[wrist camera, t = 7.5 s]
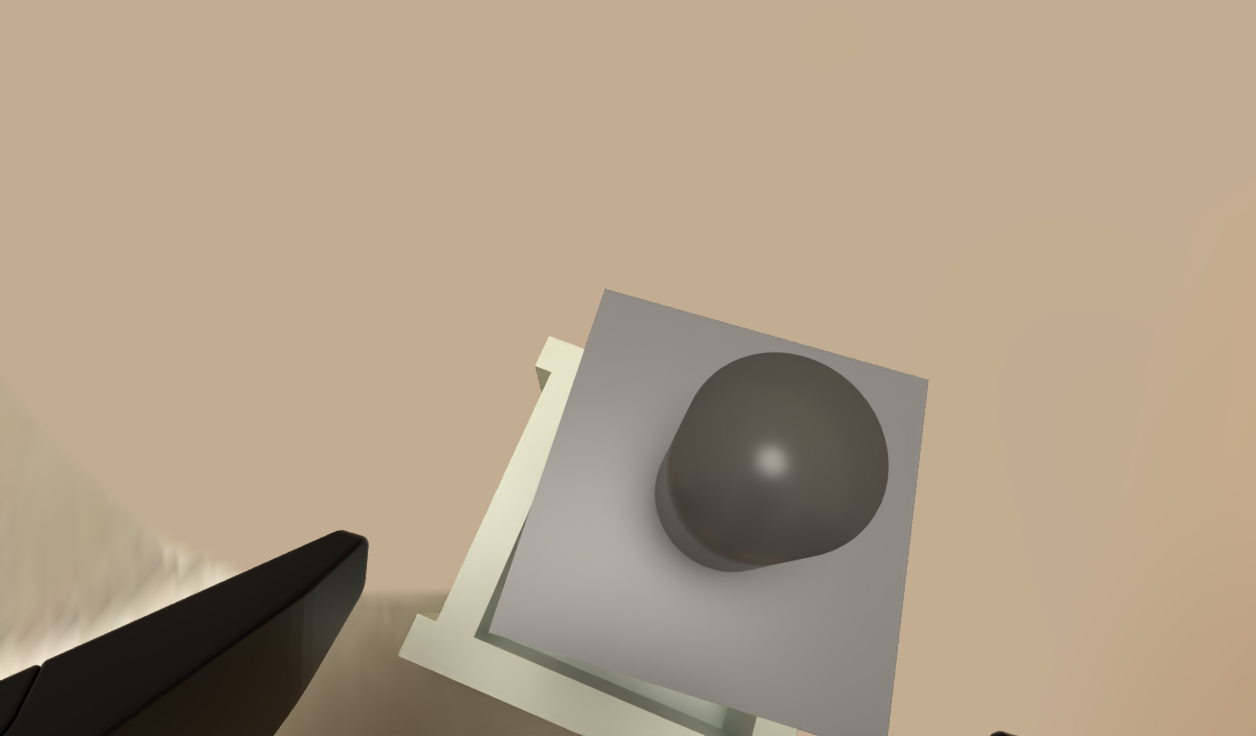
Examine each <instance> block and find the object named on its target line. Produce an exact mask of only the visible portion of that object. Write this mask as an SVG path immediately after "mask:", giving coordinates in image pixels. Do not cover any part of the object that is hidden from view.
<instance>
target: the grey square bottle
mask: <svg viewBox="0 0 1256 736" xmlns="http://www.w3.org/2000/svg"><path fill="white" fill-rule="evenodd" d="M927 389H928V380H927V379H924V378H920V377H916V376H913V375H909V374H906V373H902V372H899V371H895V370H891V369H888V368H884V367H881V366H878V365H874V364H870V363H867V362H863V361H860V360H856V359H853V358H849V357H846V356H842V355H838V354H835V353H831V352H828V351H824V350H821V349H817V348H814V347H810V346H806V345H803V344H799V343H796V342H792V341H789V340H785V339H782V338H778V337H774V336H771V335H767V334H764V333H760V332H757V331H753V330H750V329H746V328H742V327H739V326H735V325H731V324H728V323H725V322H721V321H718V320H714V319H710V318H707V317H703V316H700V315H696V314H693V313H689V312H685V311H682V310H679V309H675V308H671V307H668V306H664V305H661V304H657V303H653V302H650V301H647V300H643V299H639V298H636V297H632V296H629V295H625V294H622V293H618V292H614V291H611V290H607V289H605V291H604V294H603V296H602V299H601V302H600V305H599V308H598V311H597V314H596V317H595V320H594V323H593V326H592V329H591V332H590V335H589V337H588V340H587V343H586V346H585V349H584V352H583V355H582V358H581V361H580V364H579V367H578V370H577V373H576V376H575V379H574V382H573V385H572V387H571V390H570V393H569V396H568V399H567V402H566V405H565V408H564V411H563V414H562V417H561V420H560V423H559V426H558V429H557V432H556V435H555V437H554V440H553V443H552V446H551V449H550V452H549V455H548V458H547V461H546V464H545V467H544V470H543V473H542V476H541V479H540V482H539V485H538V487H537V490H536V493H535V496H534V499H533V502H532V505H531V508H530V511H529V514H528V517H527V520H526V523H525V526H524V529H523V532H522V535H521V537H520V540H519V543H518V546H517V549H516V552H515V555H514V558H513V561H512V564H511V567H510V570H509V573H508V576H507V579H506V582H505V585H504V587H503V590H502V593H501V596H500V599H499V602H498V605H497V608H496V611H495V614H494V617H493V620H492V623H491V626H490V629H489V633H492V634H495V635H498V636H502V637H505V638H508V639H511V640H514V641H518V642H521V643H524V644H527V645H530V646H534V647H537V648H540V649H543V650H546V651H550V652H553V653H556V654H559V655H562V656H565V657H569V658H572V659H575V660H578V661H581V662H585V663H588V664H591V665H594V666H597V667H601V668H604V669H607V670H610V671H613V672H617V673H620V674H623V675H626V676H629V677H633V678H636V679H639V680H642V681H645V682H648V683H652V684H655V685H658V686H661V687H664V688H668V689H671V690H674V691H677V692H680V693H684V694H687V695H690V696H693V697H696V698H700V699H703V700H706V701H709V702H712V703H716V704H719V705H722V706H725V707H728V708H732V709H735V710H738V711H741V712H744V713H747V714H751V715H754V716H757V717H760V718H763V719H767V720H770V721H773V722H776V723H779V724H783V725H786V726H789V727H792V728H795V729H799V730H802V731H805V732H808V733H811V734H815V735H818V736H888V729H889V721H890V720H889V719H890V711H891V703H892V694H893V686H894V677H895V668H896V660H897V651H898V642H899V633H900V624H901V616H902V607H903V599H904V590H905V581H906V572H907V563H908V555H909V546H910V537H911V529H912V520H913V511H914V503H915V494H916V485H917V476H918V468H919V458H920V450H921V441H922V433H923V424H924V415H925V406H926V397H927Z"/></svg>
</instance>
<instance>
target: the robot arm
mask: <svg viewBox="0 0 1256 736" xmlns="http://www.w3.org/2000/svg"><path fill="white" fill-rule="evenodd" d="M368 548H369V546H368V540H367V539H366V538H365V537H364V536H361V535H358V534H354V533H351V532H347V531H344V530H339V531H336V532H333V533H330V534H328V535H326V536H324V537H321V538H319V539H317V540H315V541H313V542H310V543H308V544H306V545H304V546H302V547H299V548H297V549H295V550H292V551H290V552H288V553H286V554H283V555H281V556H279V557H277V558H274V559H272V560H270V561H268V562H265V563H263V564H261V565H259V566H256V567H254V568H252V569H250V570H248V571H245V572H243V573H241V574H239V575H236V576H234V577H232V578H230V579H227V580H225V581H223V582H221V583H218V584H216V585H214V586H212V587H209V588H207V589H205V590H203V591H200V592H198V593H196V594H194V595H191V596H189V597H187V598H185V599H183V600H180V601H178V602H176V603H174V604H171V605H169V606H167V607H165V608H162V609H160V610H158V611H156V612H153V613H151V614H149V615H147V616H144V617H142V618H140V619H138V620H135V621H133V622H131V623H129V624H126V625H124V626H122V627H120V628H118V629H115V630H113V631H111V632H109V633H106V634H104V635H102V636H100V637H97V638H95V639H93V640H91V641H88V642H86V643H84V644H82V645H79V646H77V647H75V648H73V649H70V650H68V651H66V652H64V653H61V654H59V655H57V656H55V657H53V658H50V659H48V660H46V661H45V662H44V663H43V664H42V666H41V667H40V666H39V665H34V666H32V667H30V668H27V669H25V670H23V671H21V672H18V673H16V674H14V675H12V676H9V677H7V678H5V679H3V680H0V736H274V734H275V733H276V732H277V730H278V729H279V728H280V726H281V725H282V723H283V722H284V721H285V719H286V718H287V717H288V715H289V714H290V712H291V711H292V709H293V708H294V707H295V705H296V704H297V702H298V701H299V699H300V698H301V696H302V695H303V693H304V691H305V690H306V688H307V686H308V685H309V683H310V681H311V680H312V678H313V676H314V675H315V673H316V671H317V670H318V668H319V666H320V664H321V663H322V661H323V659H324V658H325V656H326V654H327V652H328V651H329V649H330V647H331V646H332V644H333V642H334V640H335V639H336V637H337V635H338V634H339V632H340V630H341V628H342V627H343V625H344V623H345V622H346V620H347V618H348V616H349V615H350V613H351V611H352V610H353V608H354V606H355V605H356V603H357V601H358V599H359V598H360V596H361V593H362V591H363V588H364V585H365V580H366V570H367V559H368ZM990 736H1016V735H1012V734H1009V733H1006V732H1003V731H997V732H995V733H993V734H991V735H990Z"/></svg>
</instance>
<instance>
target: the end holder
mask: <svg viewBox="0 0 1256 736" xmlns="http://www.w3.org/2000/svg"><path fill="white" fill-rule="evenodd" d="M583 352H584V349H582V348H580V347H577V346H575V345H572V344H569V343H566V342H564V341H561V340H559V339H556V338H553V337H551V336H549V338H548V340H547V342H546V344H545V346H544V348H543V351H542V353H541V355H540V357H539V359H538V361H537V363H536V365H535V367H536V371H537V375H538V379H539V384H540V388H541V392H542V394H541V396H540V398H539V400H538V402H537V404H536V407H535V409H534V411H533V413H532V415H531V417H530V420H529V422H528V424H527V426H526V429H525V430H524V433H523V435H522V437H521V439H520V441H519V443H518V446H517V448H516V450H515V452H514V454H513V456H512V459H511V461H510V463H509V465H508V467H507V469H506V472H505V474H504V476H503V478H502V480H501V482H500V484H499V487H498V489H497V491H496V493H495V495H494V497H493V500H492V502H491V504H490V506H489V508H488V510H487V513H486V515H485V517H484V519H483V521H482V523H481V526H480V528H479V530H478V532H477V534H476V536H475V539H474V541H473V543H472V545H471V547H470V549H469V552H468V554H467V556H466V558H465V560H464V562H463V565H462V567H461V569H460V571H459V573H458V575H457V578H456V580H455V582H454V584H453V586H452V588H451V590H450V593H449V595H448V597H447V599H446V601H445V603H444V606H443V608H442V610H441V612H435V613H418V614H417V616H416V618H415V620H414V622H413V624H412V626H411V629H410V631H409V633H408V635H407V637H406V639H405V641H404V643H403V645H402V648H401V650H400V652H399V654H398V656H400V657H402V658H405V659H407V660H409V661H412V662H414V663H416V664H418V665H420V666H423V667H425V668H427V669H430V670H432V671H434V672H437V673H439V674H441V675H444V676H446V677H448V678H450V679H453V680H455V681H457V682H460V683H462V684H464V685H467V686H469V687H471V688H474V689H476V690H478V691H480V692H483V693H485V694H487V695H490V696H492V697H494V698H497V699H499V700H501V701H504V702H506V703H508V704H511V705H513V706H515V707H517V708H520V709H522V710H524V711H527V712H529V713H531V714H534V715H536V716H538V717H541V718H543V719H545V720H548V721H550V722H552V723H554V724H557V725H559V726H561V727H564V728H566V729H568V730H571V731H573V732H575V733H578V734H580V735H582V736H797V732H798V729H795V728H792V727H789V726H786V725H783V724H779V723H776V722H773V721H770V720H767V719H763V718H760V717H757V716H754V715H751V714H747V713H744V712H741V711H738V710H735V709H732V708H728V707H725V706H722V705H719V704H716V703H712V702H709V701H706V700H703V699H700V698H696V697H693V696H690V695H687V694H684V693H680V692H677V691H674V690H671V689H668V688H664V687H661V686H658V685H655V684H652V683H648V682H645V681H642V680H639V679H636V678H633V677H629V676H626V675H623V674H620V673H617V672H613V671H610V670H607V669H604V668H601V667H597V666H594V665H591V664H588V663H585V662H581V661H578V660H575V659H572V658H569V657H565V656H562V655H559V654H556V653H553V652H550V651H546V650H543V649H540V648H537V647H534V646H530V645H527V644H524V643H521V642H518V641H514V640H511V639H508V638H505V637H502V636H498V635H495V634H492V633H489V629H490V626H491V623H492V620H493V617H494V614H495V611H496V608H497V605H498V602H499V599H500V596H501V593H502V590H503V587H504V585H505V582H506V579H507V576H508V573H509V570H510V567H511V564H512V561H513V558H514V555H515V552H516V549H517V546H518V543H519V540H520V537H521V535H522V532H523V529H524V526H525V523H526V520H527V517H528V514H529V511H530V508H531V505H532V502H533V499H534V496H535V493H536V490H537V487H538V485H539V482H540V479H541V476H542V473H543V470H544V467H545V464H546V461H547V458H548V455H549V452H550V449H551V446H552V443H553V440H554V437H555V435H556V432H557V429H558V426H559V423H560V420H561V417H562V414H563V411H564V408H565V405H566V402H567V399H568V396H569V393H570V390H571V387H572V385H573V382H574V379H575V376H576V373H577V370H578V367H579V364H580V361H581V358H582V355H583Z"/></svg>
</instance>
